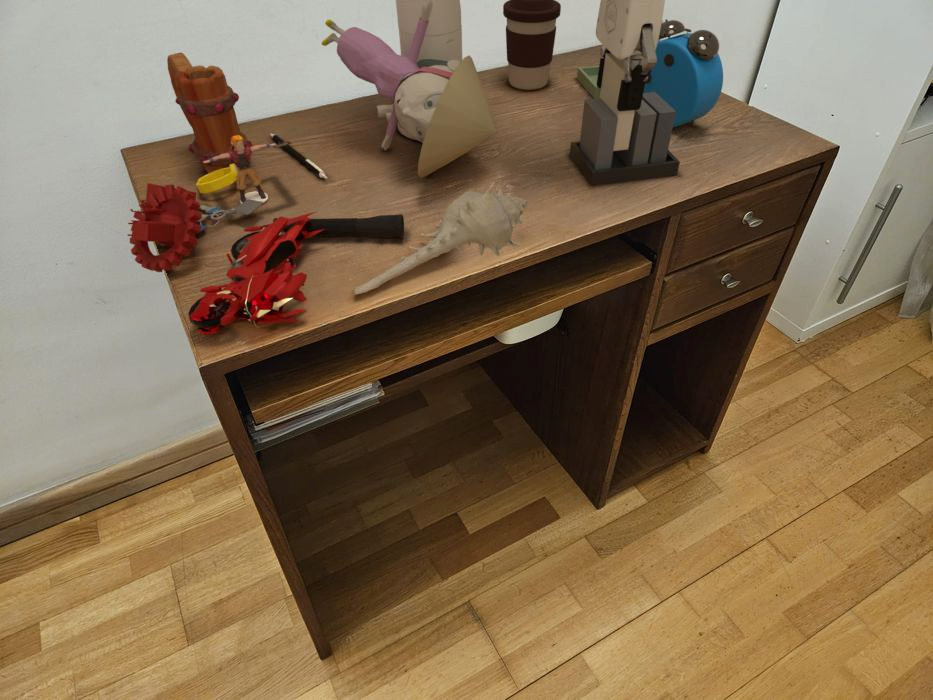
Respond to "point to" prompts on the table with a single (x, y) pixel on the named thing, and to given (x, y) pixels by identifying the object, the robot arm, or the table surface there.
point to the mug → (206, 109)
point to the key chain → (229, 211)
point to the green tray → (589, 79)
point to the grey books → (645, 137)
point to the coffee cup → (530, 41)
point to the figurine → (421, 93)
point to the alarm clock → (686, 72)
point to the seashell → (463, 231)
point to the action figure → (246, 167)
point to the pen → (300, 157)
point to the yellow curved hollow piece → (217, 179)
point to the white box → (616, 99)
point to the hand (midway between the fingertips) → (617, 97)
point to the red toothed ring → (165, 226)
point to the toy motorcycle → (257, 278)
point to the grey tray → (622, 168)
